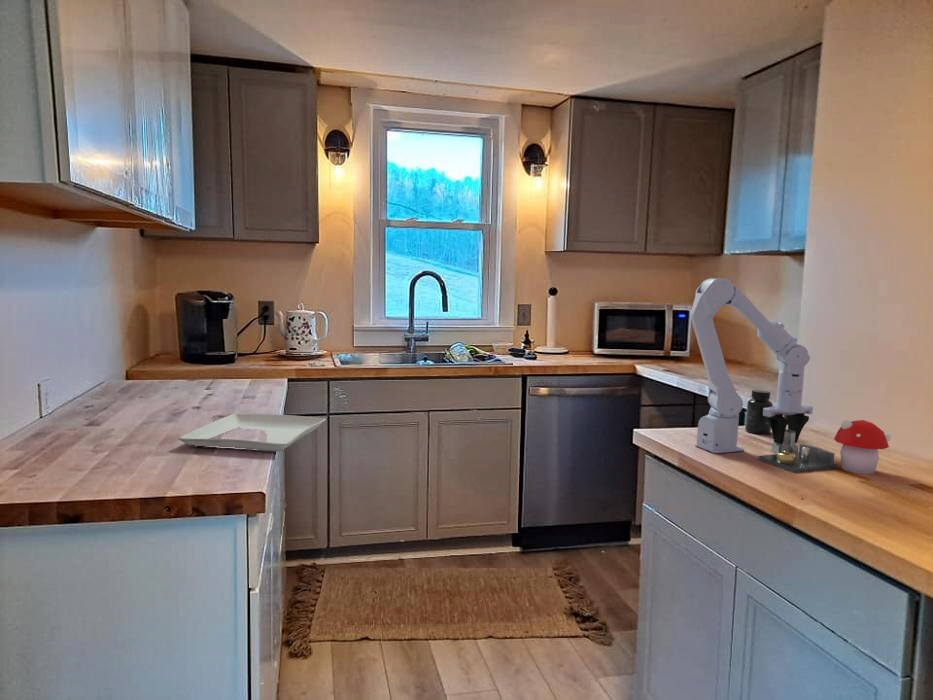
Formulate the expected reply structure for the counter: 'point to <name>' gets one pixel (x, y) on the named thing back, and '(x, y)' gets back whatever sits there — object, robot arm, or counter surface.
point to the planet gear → (786, 443)
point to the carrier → (802, 459)
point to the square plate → (275, 426)
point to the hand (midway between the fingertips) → (785, 442)
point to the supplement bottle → (758, 413)
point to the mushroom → (861, 445)
